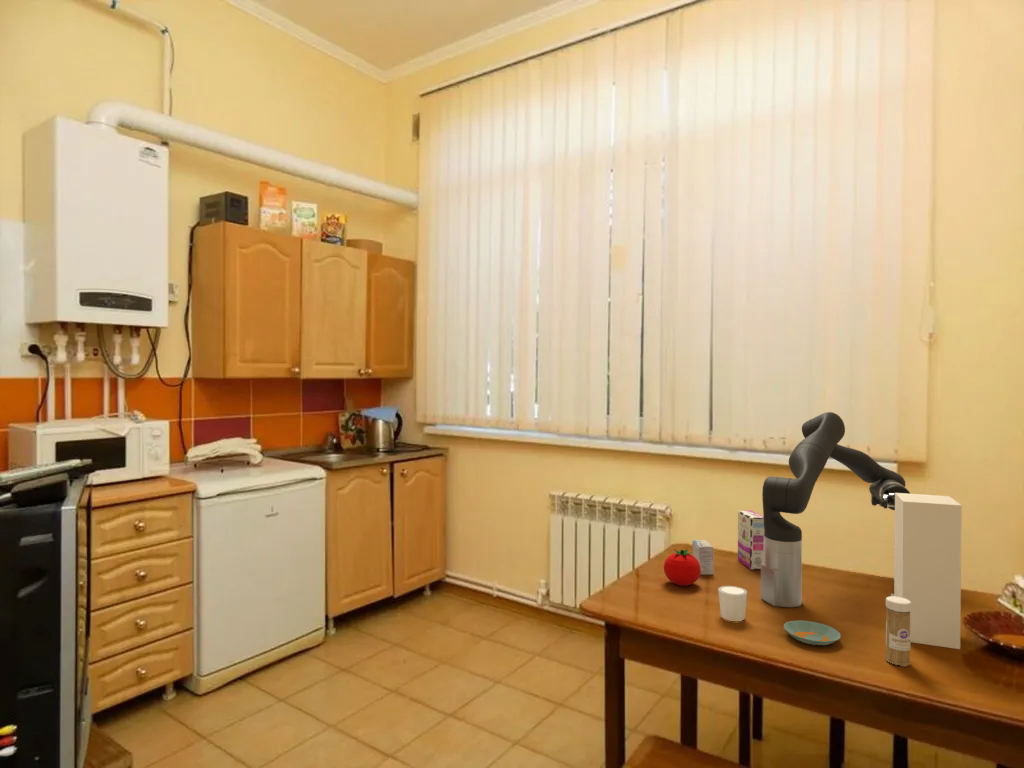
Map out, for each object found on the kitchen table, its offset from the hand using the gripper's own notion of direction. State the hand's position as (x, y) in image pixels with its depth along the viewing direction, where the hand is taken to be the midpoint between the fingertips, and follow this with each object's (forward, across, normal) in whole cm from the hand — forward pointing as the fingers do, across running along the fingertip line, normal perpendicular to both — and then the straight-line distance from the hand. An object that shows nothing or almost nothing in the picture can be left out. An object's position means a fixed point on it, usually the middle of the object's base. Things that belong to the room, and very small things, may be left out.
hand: (903, 506), depth 172 cm
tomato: (+18, -57, +24) cm, 65 cm away
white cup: (+38, -42, +24) cm, 61 cm away
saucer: (+44, -24, +25) cm, 55 cm away
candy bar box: (-9, -40, +24) cm, 48 cm away
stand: (+31, 0, +24) cm, 39 cm away
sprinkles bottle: (+49, -8, +24) cm, 55 cm away
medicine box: (+3, -53, +24) cm, 59 cm away
